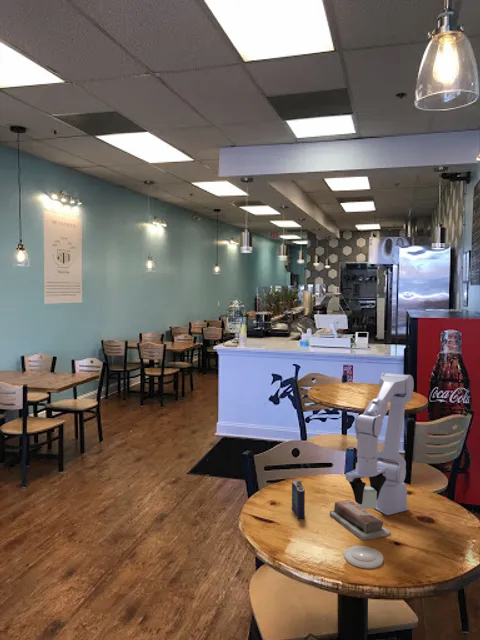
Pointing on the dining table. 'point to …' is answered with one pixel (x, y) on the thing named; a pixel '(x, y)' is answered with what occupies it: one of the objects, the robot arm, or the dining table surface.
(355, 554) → the saucer
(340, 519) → the packaged product
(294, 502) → the flask
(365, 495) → the mint block
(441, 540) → the dining table surface
